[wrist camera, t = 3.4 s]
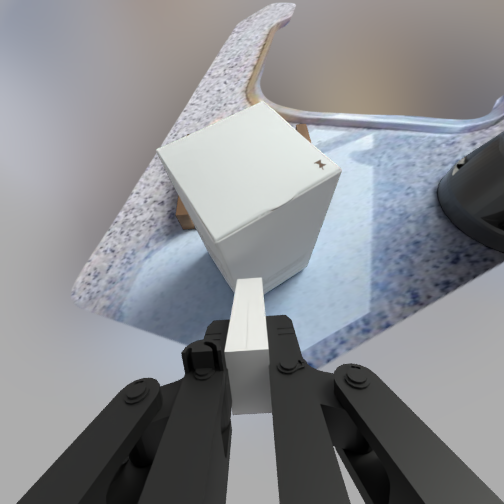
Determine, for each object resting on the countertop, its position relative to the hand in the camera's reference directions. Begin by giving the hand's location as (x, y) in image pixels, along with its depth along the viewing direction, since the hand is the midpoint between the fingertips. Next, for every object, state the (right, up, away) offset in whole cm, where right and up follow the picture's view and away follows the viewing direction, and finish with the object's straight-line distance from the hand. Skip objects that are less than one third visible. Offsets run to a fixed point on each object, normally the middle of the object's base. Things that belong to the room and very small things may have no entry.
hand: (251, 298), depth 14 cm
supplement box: (0, +2, +14) cm, 14 cm away
